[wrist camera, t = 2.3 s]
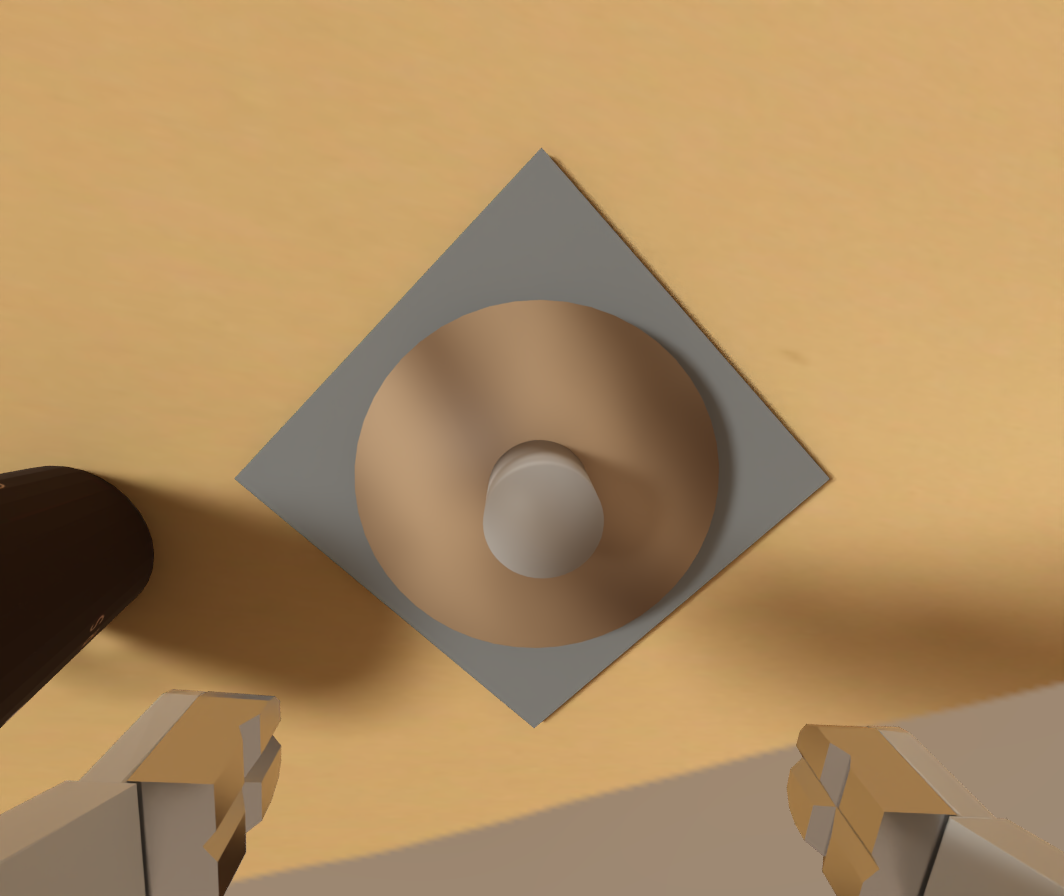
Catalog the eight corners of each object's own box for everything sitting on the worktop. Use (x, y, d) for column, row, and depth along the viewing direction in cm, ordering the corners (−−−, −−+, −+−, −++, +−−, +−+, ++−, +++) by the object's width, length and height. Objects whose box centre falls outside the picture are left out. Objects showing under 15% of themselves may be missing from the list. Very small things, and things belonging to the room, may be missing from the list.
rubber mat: (540, 152, 17) (541, 147, 17) (822, 475, 20) (829, 478, 20) (241, 474, 20) (234, 478, 19) (533, 719, 23) (534, 728, 22)
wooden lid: (539, 217, 17) (547, 185, 13) (775, 477, 20) (846, 521, 16) (291, 480, 19) (228, 525, 15) (535, 685, 22) (540, 775, 18)
